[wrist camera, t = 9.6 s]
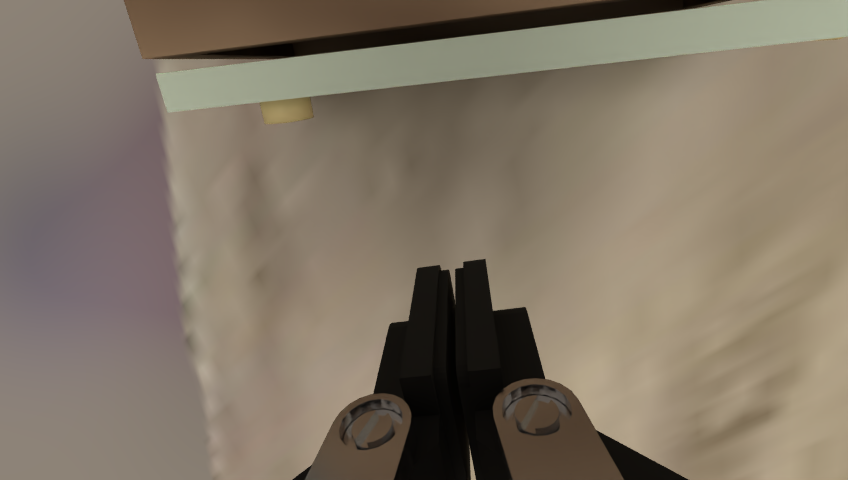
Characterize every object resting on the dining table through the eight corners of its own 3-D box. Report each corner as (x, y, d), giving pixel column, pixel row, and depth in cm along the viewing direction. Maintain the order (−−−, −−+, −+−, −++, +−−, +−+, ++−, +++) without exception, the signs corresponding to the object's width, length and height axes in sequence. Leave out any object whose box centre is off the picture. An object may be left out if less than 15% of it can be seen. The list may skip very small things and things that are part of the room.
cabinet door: (279, 65, 24) (154, 70, 14) (699, 15, 22) (911, -22, 12) (289, 108, 25) (177, 143, 15) (693, 64, 23) (887, 68, 13)
